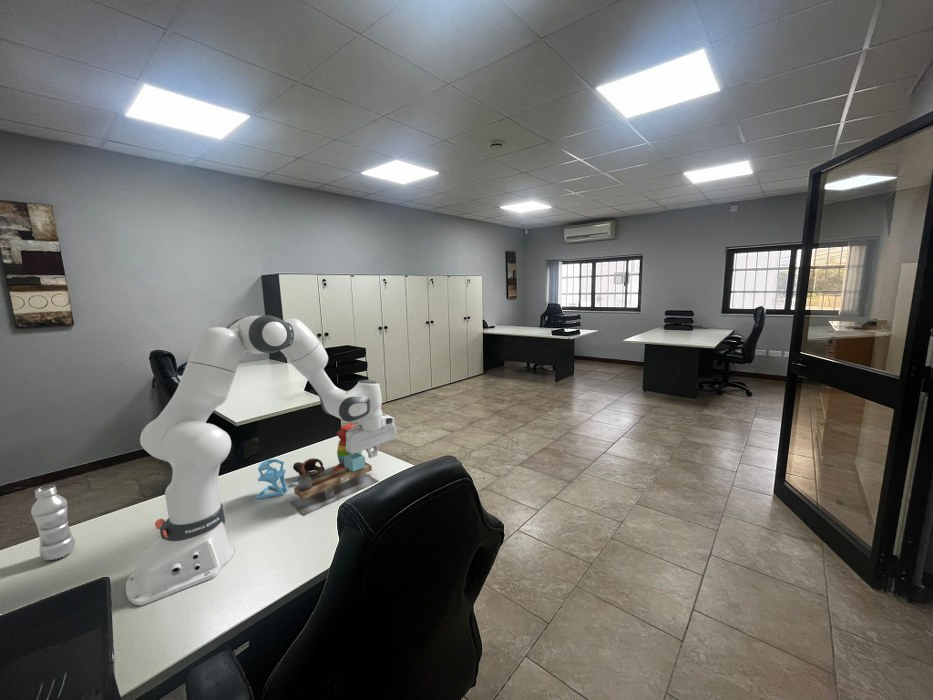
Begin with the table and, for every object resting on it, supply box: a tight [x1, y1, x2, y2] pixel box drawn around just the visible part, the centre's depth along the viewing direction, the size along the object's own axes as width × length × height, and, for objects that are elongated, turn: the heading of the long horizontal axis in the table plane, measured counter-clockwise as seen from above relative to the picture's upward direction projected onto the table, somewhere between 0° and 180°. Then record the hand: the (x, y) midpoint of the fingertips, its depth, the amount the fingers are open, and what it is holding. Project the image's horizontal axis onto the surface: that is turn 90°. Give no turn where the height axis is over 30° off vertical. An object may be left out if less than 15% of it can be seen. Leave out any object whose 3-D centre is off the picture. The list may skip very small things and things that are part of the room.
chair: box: [256, 458, 289, 500], centre depth 133 cm, size 8×8×12 cm
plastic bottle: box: [30, 484, 76, 561], centre depth 102 cm, size 6×7×20 cm
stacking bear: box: [332, 422, 363, 472], centre depth 150 cm, size 11×10×18 cm
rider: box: [344, 453, 366, 472], centre depth 138 cm, size 5×6×7 cm
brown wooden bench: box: [289, 461, 380, 516], centre depth 133 cm, size 28×11×9 cm, turn 137°
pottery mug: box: [292, 457, 326, 481], centre depth 144 cm, size 12×10×8 cm
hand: (372, 456), depth 144 cm, fingers closed
